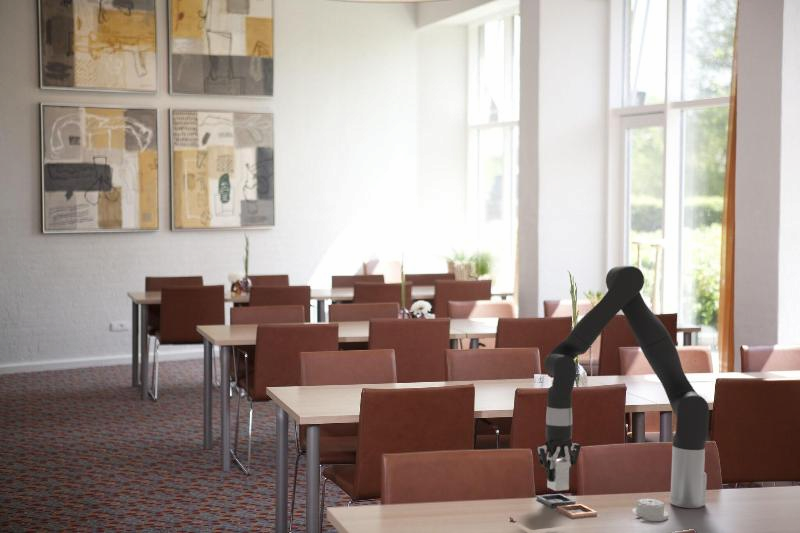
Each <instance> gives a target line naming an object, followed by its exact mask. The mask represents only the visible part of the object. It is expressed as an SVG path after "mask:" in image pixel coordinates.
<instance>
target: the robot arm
mask: <svg viewBox="0 0 800 533" xmlns="http://www.w3.org/2000/svg"><path fill="white" fill-rule="evenodd" d="M644 284H645V277H644V274H643V272H642V270H641V269H640V268H639V267H636V266H634V265H629V264H627V265H618V266H614V267H612V268H611V269H610V270H609V271H608V272H607V273H606V277H605V285H606V288H607V291H606V293H605V294H604V296H603V297H602V298H601V299H600V300H599V301H598V302H597V303H596V305H594V306H593V307H592V308H591V309H590V310H588V312H587V313H585V314H584V316H582V318H581V319H579V321H578V322H577V323H576V324H575V326H573V329H571V331H570V332H569V334H568V335H567V337H566V338H564V339H563V340H562V341H560V343H558V344H557V345H556V346H555V347H554V348H552V350H551V351H550V352H549V353H548V354H547V356H546V358H545V360H544V368H545V371H546V373H547V374H549V375H551V376H552V377H553V380H552V384H551V385H550V386H549V388H548V389H547V399H546V402H547V403H546V405H547V406H546V412H545V414H546V415H545V439H546V441H545V444H543V445H542V446H536V449H535V450H536V454H537V457H538V460H539V465H540V466H541V467H544V468H545V473H546V474H545V475H546V476H545V477H546V480H547V479H548V481H550V482H553V478H554V469H553V467H554V463H555V462H556V460H557V459H559V458H560V459H562V460H565V461H568V462H569V478H571V477H570V476H571V467H572V466H575V465H576V464H577V462H578V459H579V454H580V451H581V446H582V445H581V444H579V443H575V442H574V443H573V441H572V438H573V408H572V407H573V395H572V394H573V390H574V386H575V383H576V382H575V381H576V377H577V365H576V361H575V359H576V357H578V356H580V355H584V354H586V353H587V352H588V350H589V349H590V348H591V347H592V345H593V344H594V342H595V341H596V340H597V338H599V336H600V335H601V333H602V332H603V331H604V329H606V327H607V326H608V325H609V323H610V322H611V321H612V320H613V319H614V318H615V317H616V315H617V314H618V313H619V312H620V311H621V312H622V314H623V315H624V317H625V319H626V321H627V322H628V323H627V324H628V325H629V327H630V329H631V332H632V334H633V336H634V337H635V340H636V341H637V344H638V347H640V350H641V352H642V354H643V355H644V357H645V359H646V360H647V361H646V362H648V364H649V366H650V368H651V369H652V371H653V372H654V374H655V375H656V377H657V378H658V379H659V381H660V383H661V385H662V387H663V389H664V392H665V394H666V396H667V399H668V402H669V403H670V407H671V410H672V412H673V415H674V416H675V417H676V428H675V434H674V435H673V437H672V450H671V452H672V453H671V476H670V477H671V478H670V497H669V500H670V501H669V502H670V504H671V505H673V506H674V507H675V506H676V507H679V508H685V509H698V508H702V507H703V506H706V497H707V495H706V494H707V479H708V478H707V477H708V475H707V473H706V472H705V463H706V462H705V459H706V458H705V457H706V443H707V440H708V436H709V426H710V425H709V423H710V407H709V403H708V401H707V400H706V399H705V398H704V397H703V396H701V395H700V394H699V393H698V392H696V389H694V387H693V385H692V384H691V381H689V379H688V378H687V375H686V374H685V371H684V369H683V366H682V362H681V358H680V356H679V352H678V349H677V346H676V344H675V343H674V340H673V339H672V338H673V337H672V336H671V334H670V333H669V331H668V330H667V328H666V326H665V325H664V324H663V323H662V321H661V320H660V319H659V317H657V315H655V313H654V312H653V311H652V310H651V309H650V308H649V306H648V305H647V304H646V302H645V300H644V298H643V297H642V294H641V291H642V289H643V288H644ZM569 451H570V453H569ZM546 454H547V455H546ZM550 461H551V462H550Z"/></svg>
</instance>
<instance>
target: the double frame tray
mask: <svg viewBox="0 0 800 533" xmlns="http://www.w3.org/2000/svg"><path fill="white" fill-rule="evenodd" d="M535 501H537V502H539V503H541V504H542V505H544V506H546V507H548V508H550V509H552V510H554V511H555V512H558V513H560V514H561V515H563V516H566V517H567V518H570V519H571V520H574V521H575V520H580V519H581V520H582V519H590V518H591V519H592V518H598V517H599V518H601V515H598V511H596V510H594V509H592V508H590V507H588V506H587V505H584V504H582V503H579V504H578V503H576V500H574V499H572V498H570V497H568V496H565V495H564V494H562V493H556V494H544V495H536V499H535Z"/></svg>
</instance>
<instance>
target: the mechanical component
mask: <svg viewBox="0 0 800 533" xmlns="http://www.w3.org/2000/svg"><path fill="white" fill-rule="evenodd" d="M631 512H632V513H633V514H634V515H636V516H639V517H637V519H639V520H643V521H648V522H663V521H666V520H668V518H669V512H667V511H666V510H665V503H664V502H663V501H661V500H658V499H654V498H640V499H637V500H636V507H634V508H632V509H631Z"/></svg>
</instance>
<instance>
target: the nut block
mask: <svg viewBox="0 0 800 533" xmlns="http://www.w3.org/2000/svg"><path fill="white" fill-rule="evenodd" d="M550 462H551V461H550ZM553 469H554V478H553V482H550V481H548V479H547V478H546V481H547V482H546V487H547V488H548V489H551V490H552V491H554V492H559V491H568V490H570V489H569V488H570V477H569V462H568V461H565V460H562V459H561V458H557V460H556V462H555V463H554V467H553Z"/></svg>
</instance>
